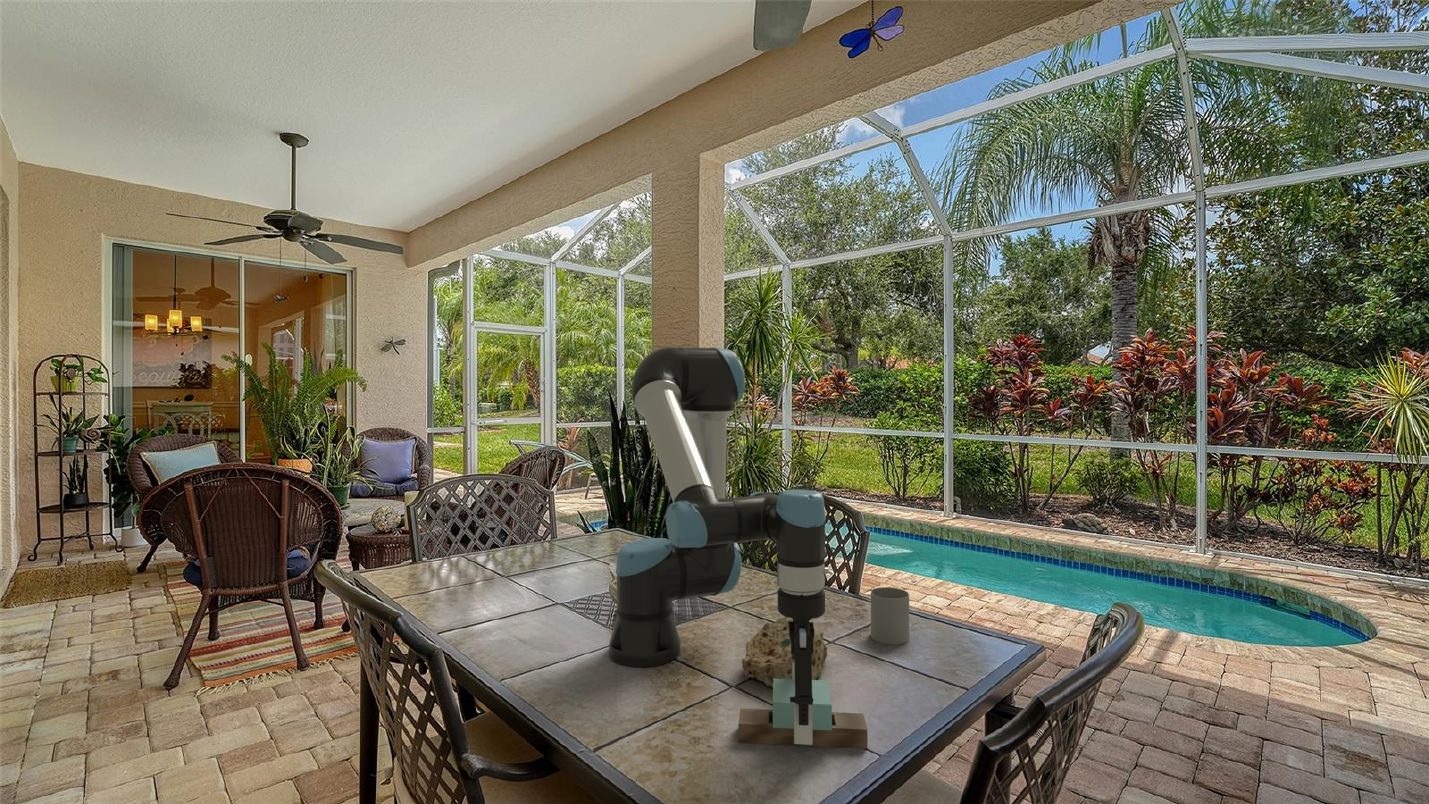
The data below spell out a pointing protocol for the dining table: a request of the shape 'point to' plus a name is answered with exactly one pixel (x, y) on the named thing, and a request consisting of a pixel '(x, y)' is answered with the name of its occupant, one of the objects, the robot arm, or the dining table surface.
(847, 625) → the dining table surface
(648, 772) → the dining table surface
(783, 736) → the rail
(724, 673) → the dining table surface
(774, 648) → the rock
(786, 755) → the dining table surface
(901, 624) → the cup
